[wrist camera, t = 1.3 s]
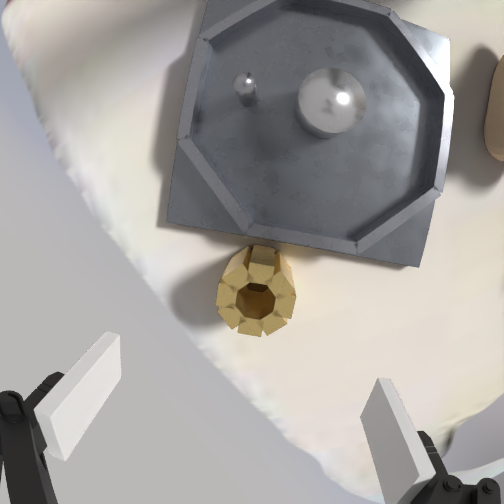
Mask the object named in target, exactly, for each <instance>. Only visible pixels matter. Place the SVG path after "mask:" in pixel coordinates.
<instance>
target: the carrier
mask: <svg viewBox="0 0 504 504" xmlns="http://www.w3.org/2000/svg"><path fill="white" fill-rule="evenodd" d="M449 73H450V39H448V38H446V37H444V36H441V35H439V34H437V33H435V32H432V31H430V30H428V29H425V28H423V27H420V26H418V25H415V24H413V23H410V22H407V21H405V20H402V19H400V18H399V17H398V15H397V14H396V13H395V12H394V11H392V12H391V9H390V8H387V7H384V6H380V5H377V4H374V3H371V2H367V1H364V0H208V3H207V7H206V11H205V15H204V18H203V22H202V26H201V30H200V34H199V38H197V40H196V45H195V49H194V53H193V57H192V62H191V66H190V71H189V76H188V80H187V85H186V90H185V95H184V100H183V105H182V111H181V116H180V122H179V127H178V133H177V139H178V142H177V148H176V154H175V161H174V167H173V174H172V181H171V189H170V196H169V204H168V213H167V222H168V223H174V224H180V225H186V226H192V227H198V228H204V229H210V230H215V231H221V232H227V233H233V234H239V235H244V236H250V237H256V238H262V239H267V240H273V241H278V242H284V243H290V244H295V245H301V246H306V247H312V248H317V249H323V250H328V251H334V252H339V253H344V254H350V255H355V256H361V257H366V258H371V259H376V260H382V261H387V262H392V263H397V264H403V265H408V266H413V267H418V268H419V266H420V262H421V259H422V255H423V251H424V247H425V243H426V239H427V235H428V231H429V226H430V222H431V217H432V213H433V208H434V203H435V199H437V198H438V197H439V196H441V195H440V193H439V192H443V187H444V181H445V175H446V169H447V162H448V155H449V147H450V139H451V129H452V119H453V106H454V96H453V95H451V94H452V93H453V91H452V90H451V88H450V87H449Z"/></svg>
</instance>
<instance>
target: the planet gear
mask: <svg viewBox="0 0 504 504" xmlns="http://www.w3.org/2000/svg"><path fill="white" fill-rule="evenodd" d="M250 282H253V283H259V284H264V285H267V286H268V287H269V289H267V290H266V291H264V292H263V293H262V292H256V291H250V290H249V289H248V288H247V286H246V285H247V284H248V283H250ZM295 300H296V293H295V288H294V282H293V277H292V272H291V267H290V266H289V264H288V263H287V262H286V260H285V259H284V257H283V256H282V254H281V253H280V252H277V253H276V254H274V248H270V247H265V246H259V245H254V246H253V250H251V249H250V248H249V246H247V247H246V248H244V249H243V250H241V251H240V252H239V253H237V254H236V255H234V256H233V257H232V258H231V260H230V262H228V265H227V267H226V269H225V271H224V273H223V275H222V277H221V279H220V281H219V284H218V291H217V299H216V306H219V309H218V311H217V312H218V313H219V314H220V316H221V317H222V318H223V319H224V321H225V322H226V323H227V324H228V326H229V327H230V328H231V329H233V328H235V327H237V326H238V325H239V327H238V333H241V334H247V335H252V336H258V337H261V333H262V330H263V331H264V332H265V333H266V335H267V336H268V335H269V334H271V333H273V332H274V331H276V330H278V329H280V328H281V327H283V326H285V325H286V324H287V318H289V319H291V317H292V313H293V308H294V304H295Z"/></svg>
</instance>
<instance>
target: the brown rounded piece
mask: <svg viewBox="0 0 504 504" xmlns="http://www.w3.org/2000/svg"><path fill="white" fill-rule="evenodd" d="M484 138H485V145H486V147H487V149H488V151H489V152H490V154H491V155H492V156H493V157H494V158H496V159H497V160H499V161H504V55H503V57H502V58H501V60H500V61H499V63H498V65H497V67H496V70H495V72H494V76H493V80H492V85H491V90H490V96H489V103H488V109H487V114H486V119H485V124H484Z"/></svg>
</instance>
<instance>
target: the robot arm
mask: <svg viewBox="0 0 504 504" xmlns="http://www.w3.org/2000/svg"><path fill="white" fill-rule="evenodd" d="M121 375H122V374H121V356H120V335H119V334H115V333H112V332H108V331H106V332H105V333H104V334H103V335H102V336H101V337H100V338H99V339H98V340H97V341H96V342H95V343H94V345H93V346H92V347H91V348H90V349H89V350H88V351H87V352H86V353H85V354H84V355H83V356H82V357H81V358H80V359H79V360H78V361H77V362H76V364H75V365H74V366H73V367H72V368H71V369H70V370H69V371H68V372H67V373H66V374H63V373H60V372H56V373H54V374H51V375H49V376H48V377H47V378H46V379H45V380H44V381H43V382H42V384H40V385H39V386H38V387H37V389H35V390H34V391H33V392H32V393H31V394H30V396H28V398H27V399H26V400H25V401H23V398H22V396H21V395H20V394H19V393H17V392H15V391H3V392H1V393H0V482H1V473H2V465H3V462H4V468H5V476H6V482H7V488H8V493H9V498H10V503H11V504H58V503H57V499H56V496H55V493H54V490H53V487H52V483H51V479H50V476H49V472H48V468H47V465H46V461H45V456H44V454H43V451H44V450H45V448H46V447H47V448H48V450H49V453H50V454H51V455H52V456H54V457H56V458H58V459H61V460H63V461H65V462H66V460H67V458H68V457H69V455H70V454H71V452H72V451H73V449H74V448H75V446H76V444H77V443H78V441H79V440H80V438H81V437H82V435H83V434H84V432H85V431H86V429H87V428H88V426H89V425H90V423H91V422H92V420H93V419H94V417H95V416H96V414H97V412H98V411H99V410H100V408H101V407H102V405H103V404H104V402H105V401H106V399H107V398H108V397H109V395H110V393H111V392H112V391H113V389H114V387H115V386H116V385H117V383H118V382H119V380H120V379H121V377H122V376H121ZM360 418H361V421H362V424H363V428H364V431H365V434H366V437H367V441H368V444H369V447H370V451H371V454H372V457H373V461H374V464H375V468H376V471H377V475H378V478H379V482H380V485H381V489H382V493H383V496H384V500H385V504H501V498H500V487H499V485H498V483H497V482H496V481H495V480H493V479H491V478H483V479H481V480H480V481H479V482H478V484H477V485H466V484H462V482H461V481H460V479H459V478H457V477H455V476H453V475H448V473H447V471H446V468H445V466H444V464H443V462H442V460H441V458H440V456H439V454H438V453H437V450H436V448H435V447H434V444H433V442H432V440H431V438H430V437H429V436H428V435H427V434H426V433H425V432H424V431H416V429H415V427H414V425H413V422H412V420H411V418H410V416H409V414H408V412H407V410H406V408H405V406H404V404H403V402H402V400H401V398H400V396H399V394H398V392H397V390H396V388H395V386H394V384H393V382H392V380H391V379H387V378H378V379H377V381H376V383H375V386H374V388H373V390H372V392H371V395H370V397H369V399H368V401H367V403H366V406H365V408H364V410H363V412H362V414H361V416H360Z"/></svg>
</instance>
